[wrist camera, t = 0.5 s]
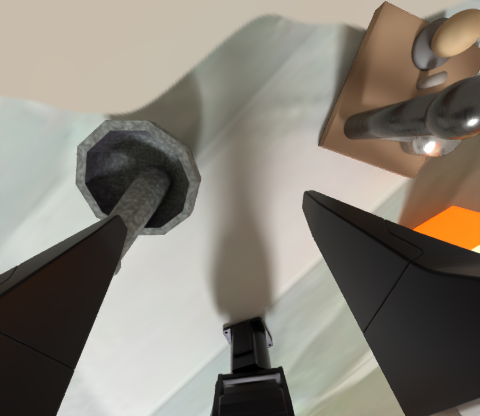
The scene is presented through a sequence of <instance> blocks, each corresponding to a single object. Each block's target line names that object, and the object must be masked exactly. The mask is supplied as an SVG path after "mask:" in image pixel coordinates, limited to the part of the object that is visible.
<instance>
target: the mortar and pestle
mask: <svg viewBox="0 0 480 416" xmlns="http://www.w3.org/2000/svg"><path fill="white" fill-rule="evenodd" d="M200 182H201V176H200V174H199V171H198V169H197V166H196V164H195V161H194V159H193V156H192V153H191V151H190V148H189V147H188V146H187V145H185V144H184V143H182V142H181V141H180V140H178V139H177V138H175V137H174V136H173V135H171V134H170V133H168V132H167V131H165V130H164V129H163V128H161V127H160V126H158V125H157V124H156V123H154V122H150V121H128V120H105V121H104V122H103V123H102V124H101V125H100V126H99V127H98V128H97V129H95V130H94V131H93V132H92V133H91V134H90V135H89V136H88V137H87V138H86V139H85V140H84V141H83V142H81V143H80V144H79V145H78V147H77V167H76V185H77V187H78V189H79V190H80V192H81V193H82V195H83V196H84V198H85V200H86V201H87V203H88V204H89V206H90V208H91V209H92V211H93V212H94V214H95V216H96V217H97V218H99V219H101V220H102V219H104V218H106V217H108V216H111V215H119V216H120V217H121V218H122V220H123V221H124V223H125V225H126V226H127V229H128V233H127V236H126V240H125V243H124V247H123V250H122V254H121V257H120V260H119V263H118V265H117V268H116V270H115V273H114V275H113V276H115V275H116V274H117V273H118V272H119V270H120V268H121V259H122V258H123V257H124V255H125V254H126V252H127V251H128V249H129V248H130V247H131V245H132V244H133V242H134V241H135V239H136V238H137V236H138V235H164V234H166V233H167V232H169V231H170V230H171V229H173V228H174V227H175V226H177V225H178V224H179V223H181V222H182V221H184V220H185V219H186V218H188V217H189V216H190V215H191V213H192V212H193V209H194V205H195V201H196V197H197V194H198V190H199V186H200Z"/></svg>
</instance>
